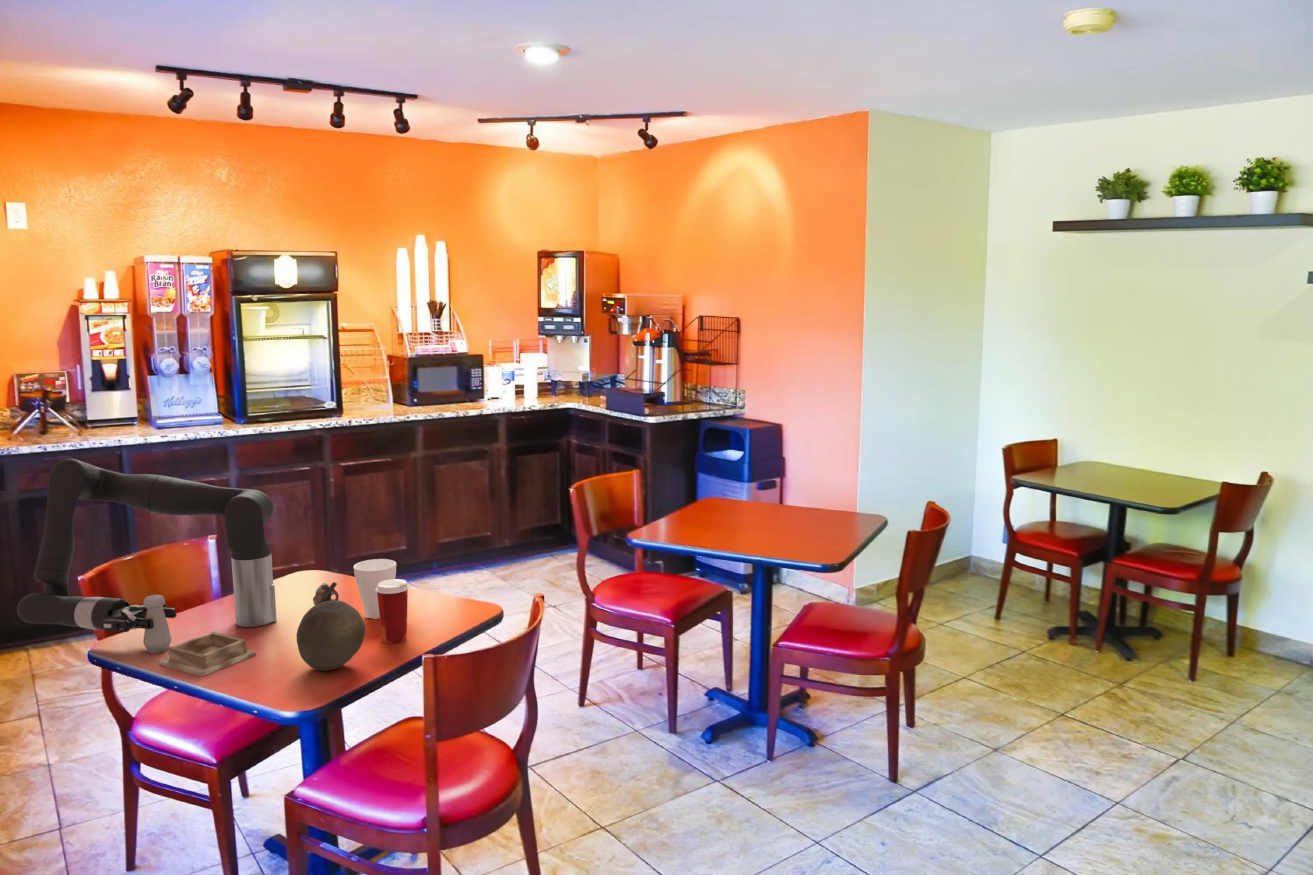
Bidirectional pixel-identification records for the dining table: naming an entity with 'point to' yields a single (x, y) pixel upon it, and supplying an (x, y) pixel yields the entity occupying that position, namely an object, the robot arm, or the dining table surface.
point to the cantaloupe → (330, 635)
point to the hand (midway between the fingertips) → (163, 618)
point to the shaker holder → (207, 654)
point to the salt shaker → (156, 625)
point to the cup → (372, 582)
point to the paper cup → (393, 609)
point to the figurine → (325, 593)
